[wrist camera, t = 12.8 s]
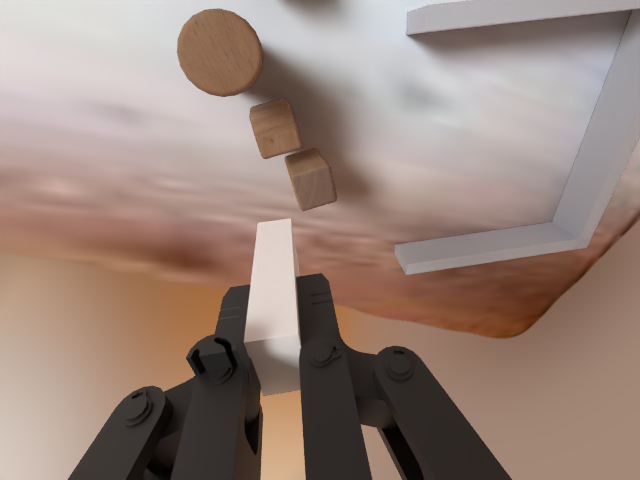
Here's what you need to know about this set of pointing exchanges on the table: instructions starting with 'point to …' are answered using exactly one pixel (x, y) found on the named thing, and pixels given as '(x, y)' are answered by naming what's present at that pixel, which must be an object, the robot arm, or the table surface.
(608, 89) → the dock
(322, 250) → the table surface
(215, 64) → the wooden block set
